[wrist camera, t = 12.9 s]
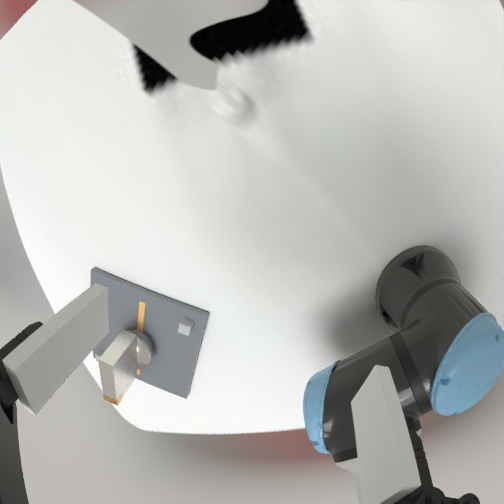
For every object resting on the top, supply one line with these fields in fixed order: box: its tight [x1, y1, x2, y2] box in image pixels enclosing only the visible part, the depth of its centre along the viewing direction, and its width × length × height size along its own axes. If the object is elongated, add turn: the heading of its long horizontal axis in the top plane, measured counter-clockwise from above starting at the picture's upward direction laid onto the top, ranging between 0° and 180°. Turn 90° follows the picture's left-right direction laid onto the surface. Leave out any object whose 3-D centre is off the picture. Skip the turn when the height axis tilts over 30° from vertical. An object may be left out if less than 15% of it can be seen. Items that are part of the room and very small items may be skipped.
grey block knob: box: [98, 330, 153, 405], centre depth 46 cm, size 11×8×11 cm
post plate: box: [91, 267, 209, 399], centre depth 53 cm, size 24×24×3 cm
